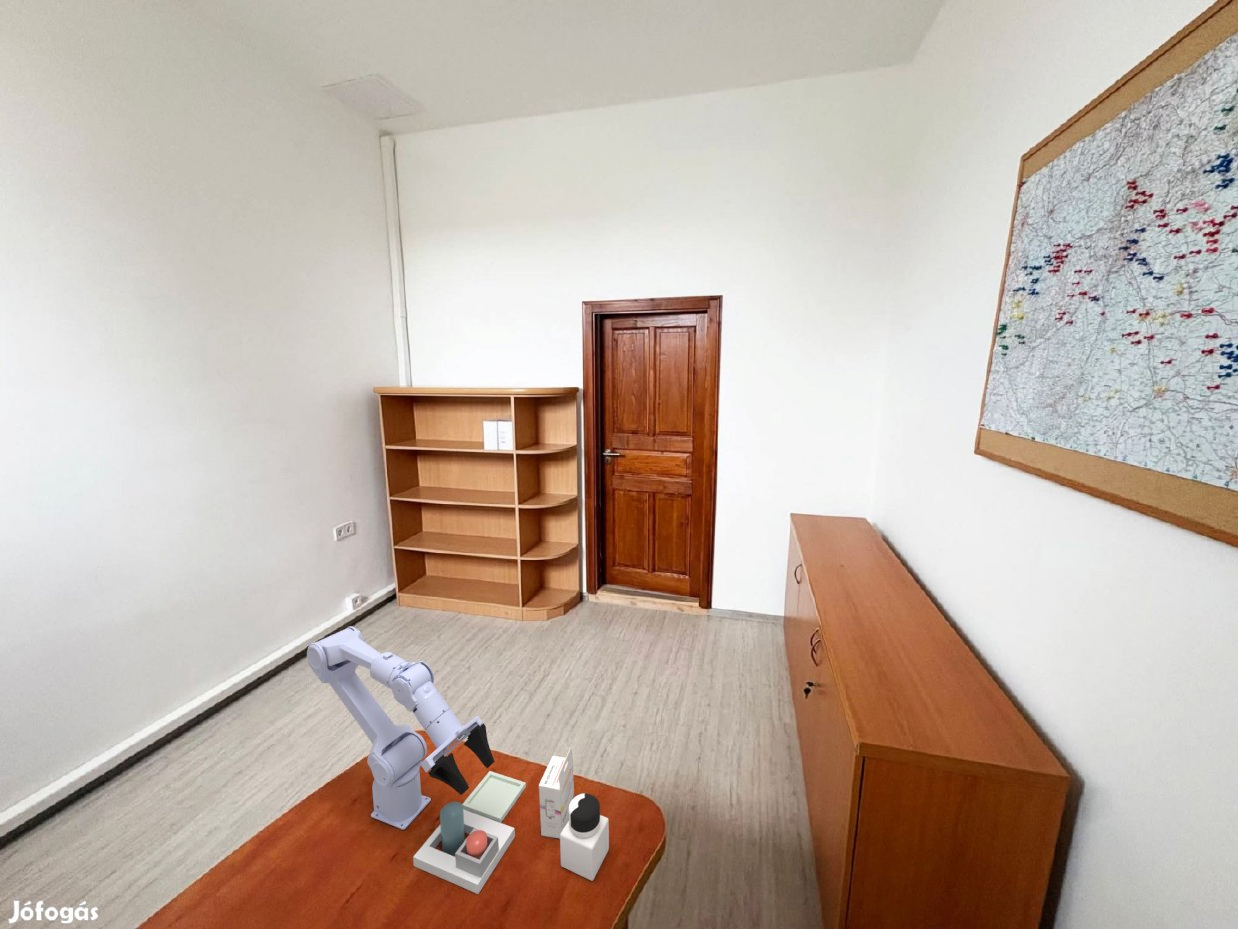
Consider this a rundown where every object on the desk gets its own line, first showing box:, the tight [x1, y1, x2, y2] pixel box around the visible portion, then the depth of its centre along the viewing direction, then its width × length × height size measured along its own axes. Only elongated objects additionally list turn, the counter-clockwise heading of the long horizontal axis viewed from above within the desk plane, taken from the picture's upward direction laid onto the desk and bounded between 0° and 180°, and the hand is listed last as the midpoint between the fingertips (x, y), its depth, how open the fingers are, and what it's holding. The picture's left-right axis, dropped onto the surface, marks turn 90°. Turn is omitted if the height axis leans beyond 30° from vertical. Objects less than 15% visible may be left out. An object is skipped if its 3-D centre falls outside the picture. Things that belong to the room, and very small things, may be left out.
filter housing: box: [412, 809, 516, 895], centre depth 92 cm, size 15×12×5 cm
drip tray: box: [461, 770, 527, 824], centre depth 105 cm, size 10×10×1 cm
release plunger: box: [465, 830, 488, 859], centre depth 89 cm, size 4×4×3 cm
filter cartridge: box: [439, 801, 466, 857], centre depth 93 cm, size 4×4×8 cm
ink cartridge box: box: [538, 746, 575, 840], centre depth 98 cm, size 9×5×15 cm, turn 168°
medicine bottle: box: [559, 792, 610, 882], centre depth 90 cm, size 7×7×12 cm
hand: (478, 777), depth 90 cm, fingers open, 7 cm apart
